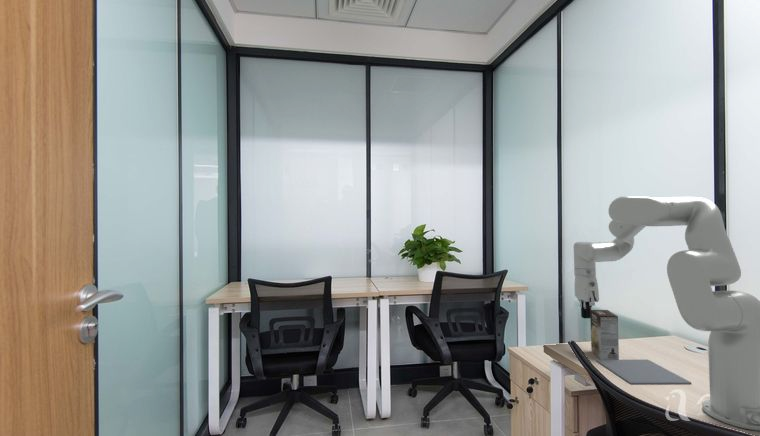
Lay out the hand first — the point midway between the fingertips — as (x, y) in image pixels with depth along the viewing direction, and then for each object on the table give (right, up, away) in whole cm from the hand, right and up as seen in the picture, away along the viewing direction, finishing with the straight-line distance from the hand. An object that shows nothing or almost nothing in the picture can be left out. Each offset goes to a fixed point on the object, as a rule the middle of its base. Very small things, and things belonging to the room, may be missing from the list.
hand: (586, 317), depth 141 cm
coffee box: (0, -11, -12) cm, 16 cm away
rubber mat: (+2, -10, -26) cm, 28 cm away
